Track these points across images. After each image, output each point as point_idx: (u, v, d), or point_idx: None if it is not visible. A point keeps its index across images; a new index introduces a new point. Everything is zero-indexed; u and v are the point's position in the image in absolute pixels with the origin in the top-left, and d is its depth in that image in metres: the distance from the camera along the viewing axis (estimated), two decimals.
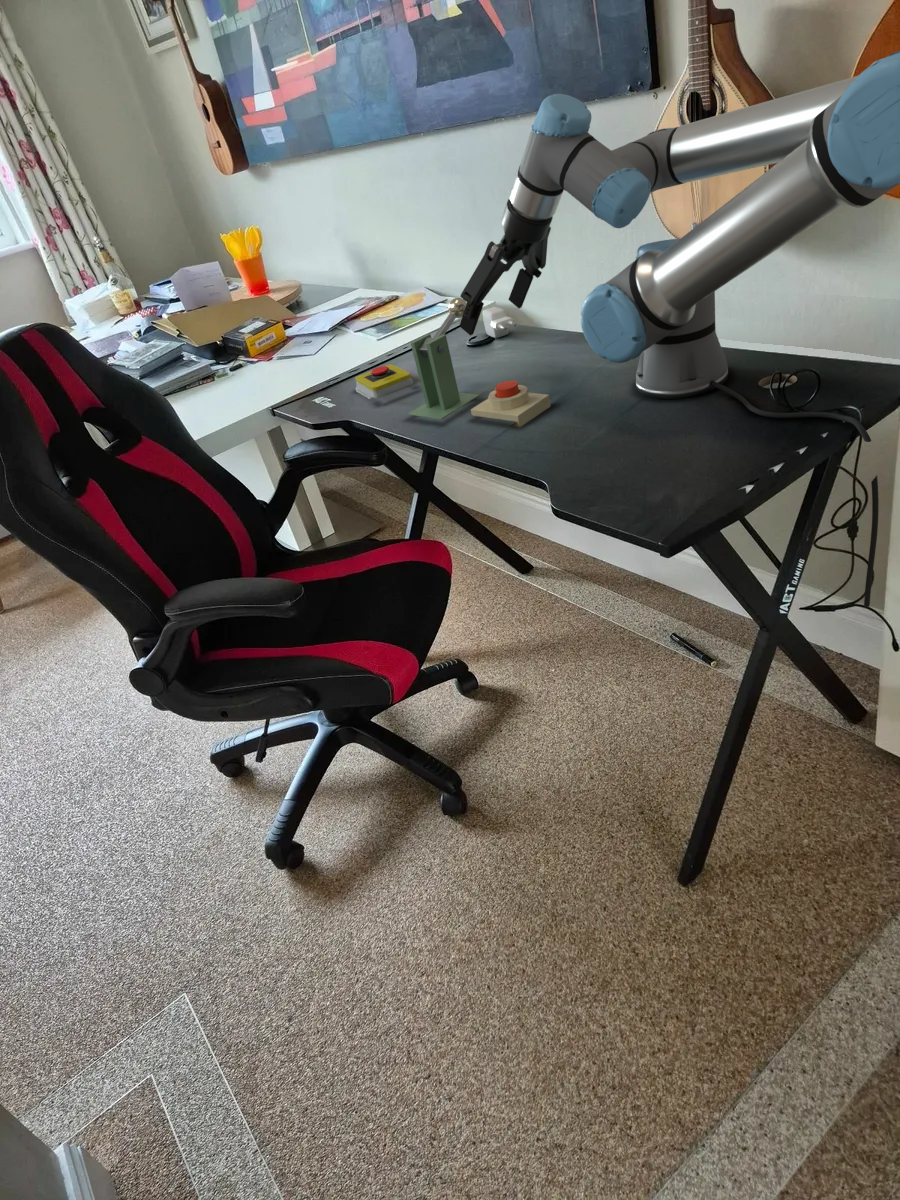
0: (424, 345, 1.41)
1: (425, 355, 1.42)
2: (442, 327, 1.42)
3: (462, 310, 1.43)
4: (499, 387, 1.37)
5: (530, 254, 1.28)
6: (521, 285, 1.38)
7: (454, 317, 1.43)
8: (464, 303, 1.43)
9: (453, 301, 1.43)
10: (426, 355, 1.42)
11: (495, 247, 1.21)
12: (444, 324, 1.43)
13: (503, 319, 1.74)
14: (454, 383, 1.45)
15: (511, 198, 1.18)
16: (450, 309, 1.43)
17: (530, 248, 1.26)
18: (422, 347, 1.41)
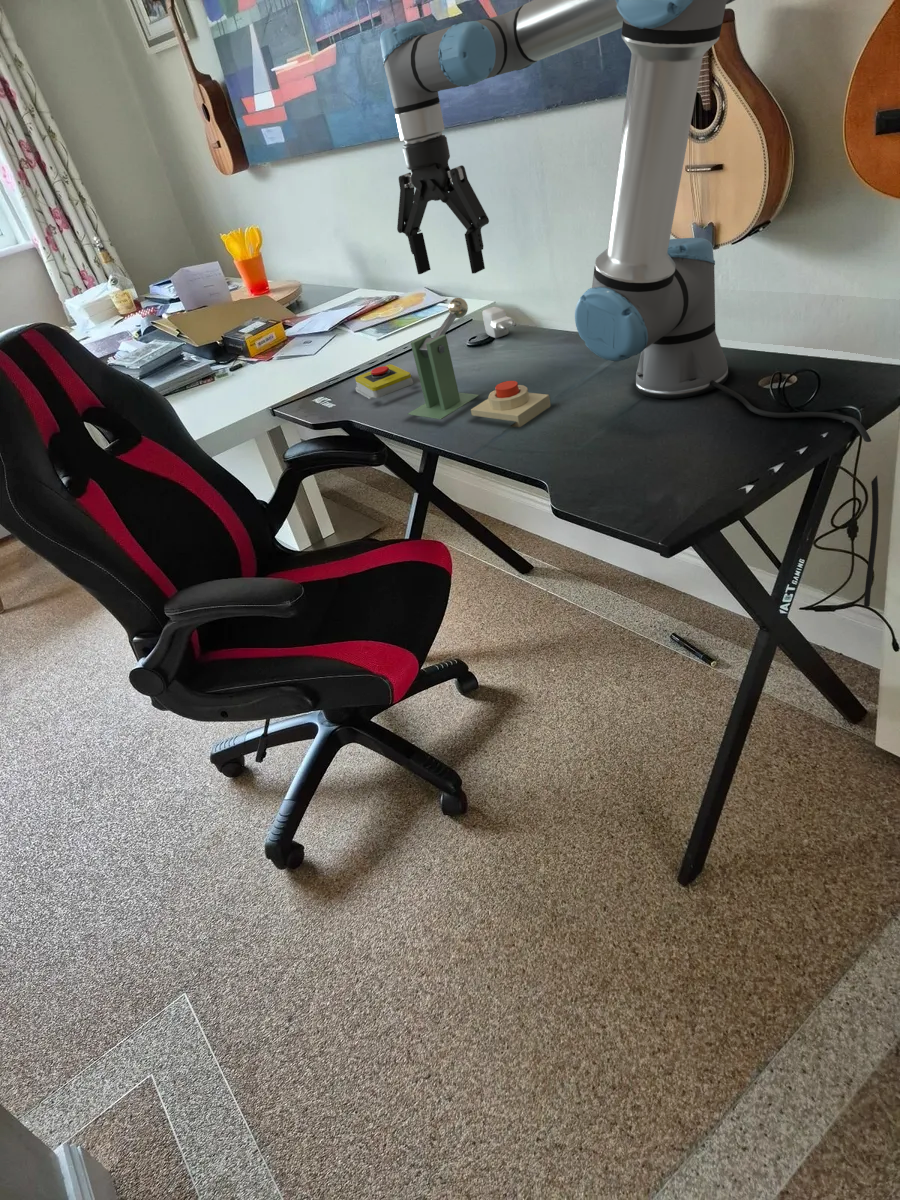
0: (424, 345, 1.41)
1: (425, 355, 1.42)
2: (442, 327, 1.42)
3: (462, 310, 1.43)
4: (499, 387, 1.37)
5: (437, 194, 1.31)
6: None
7: (454, 317, 1.43)
8: (464, 303, 1.43)
9: (453, 301, 1.43)
10: (426, 355, 1.42)
11: (403, 175, 1.35)
12: (444, 324, 1.43)
13: (503, 319, 1.74)
14: (454, 383, 1.45)
15: None
16: (450, 309, 1.43)
17: (428, 183, 1.30)
18: (422, 347, 1.41)
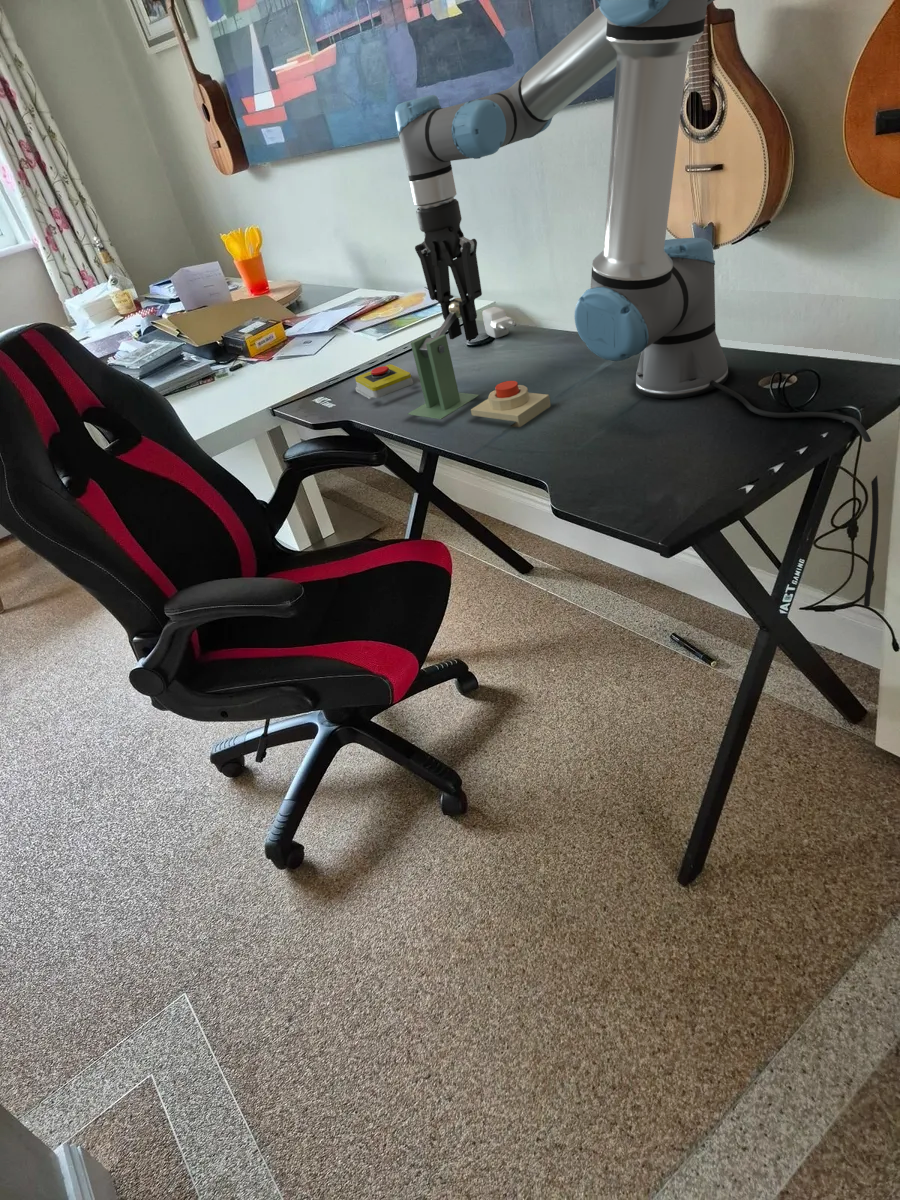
0: (424, 345, 1.41)
1: (425, 355, 1.42)
2: (442, 327, 1.42)
3: None
4: (499, 387, 1.37)
5: (445, 256, 1.37)
6: None
7: (454, 317, 1.43)
8: None
9: (453, 301, 1.43)
10: (426, 355, 1.42)
11: None
12: (444, 324, 1.43)
13: (503, 319, 1.74)
14: (454, 383, 1.45)
15: None
16: (450, 309, 1.43)
17: (441, 245, 1.36)
18: (422, 347, 1.41)
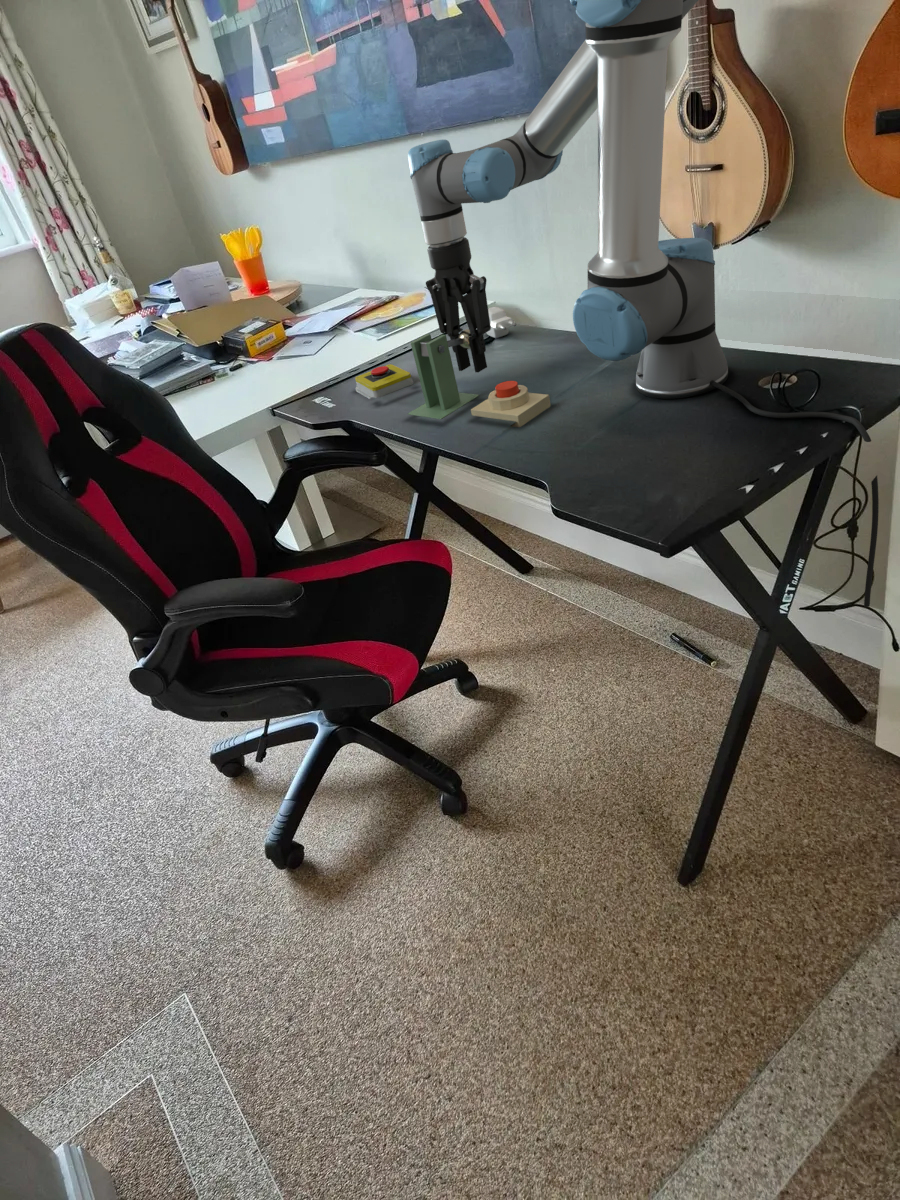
0: (426, 341, 1.41)
1: (423, 351, 1.41)
2: (448, 341, 1.44)
3: None
4: (499, 387, 1.37)
5: (455, 293, 1.41)
6: None
7: (461, 342, 1.46)
8: None
9: (466, 329, 1.47)
10: (424, 351, 1.41)
11: None
12: (450, 340, 1.45)
13: (503, 319, 1.74)
14: (454, 383, 1.45)
15: None
16: (460, 334, 1.47)
17: (451, 282, 1.40)
18: (423, 342, 1.41)
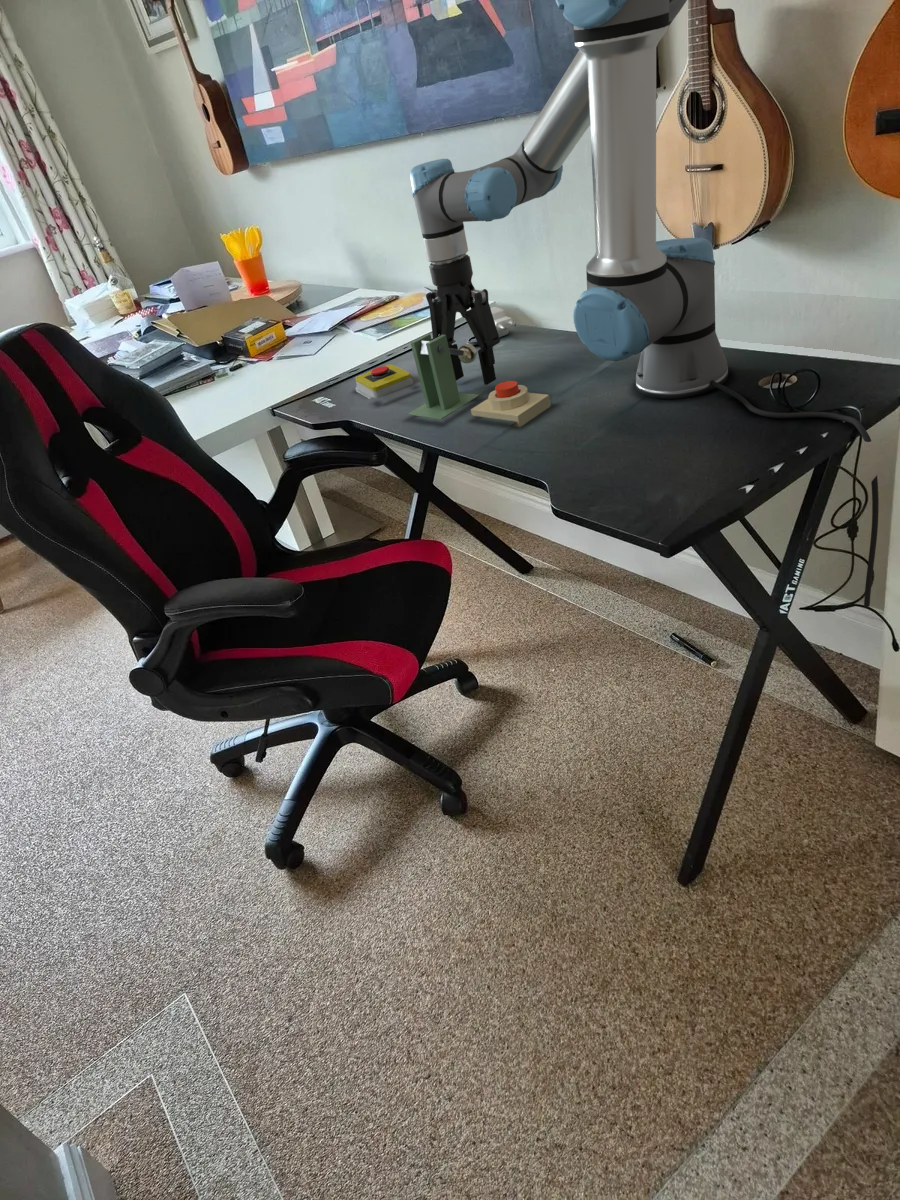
0: None
1: (422, 349, 1.41)
2: None
3: (471, 353, 1.47)
4: (499, 387, 1.37)
5: (459, 309, 1.42)
6: None
7: (461, 353, 1.47)
8: (475, 351, 1.48)
9: (467, 344, 1.48)
10: (423, 349, 1.41)
11: None
12: None
13: (503, 319, 1.74)
14: (454, 383, 1.45)
15: None
16: (461, 347, 1.48)
17: (453, 298, 1.41)
18: None
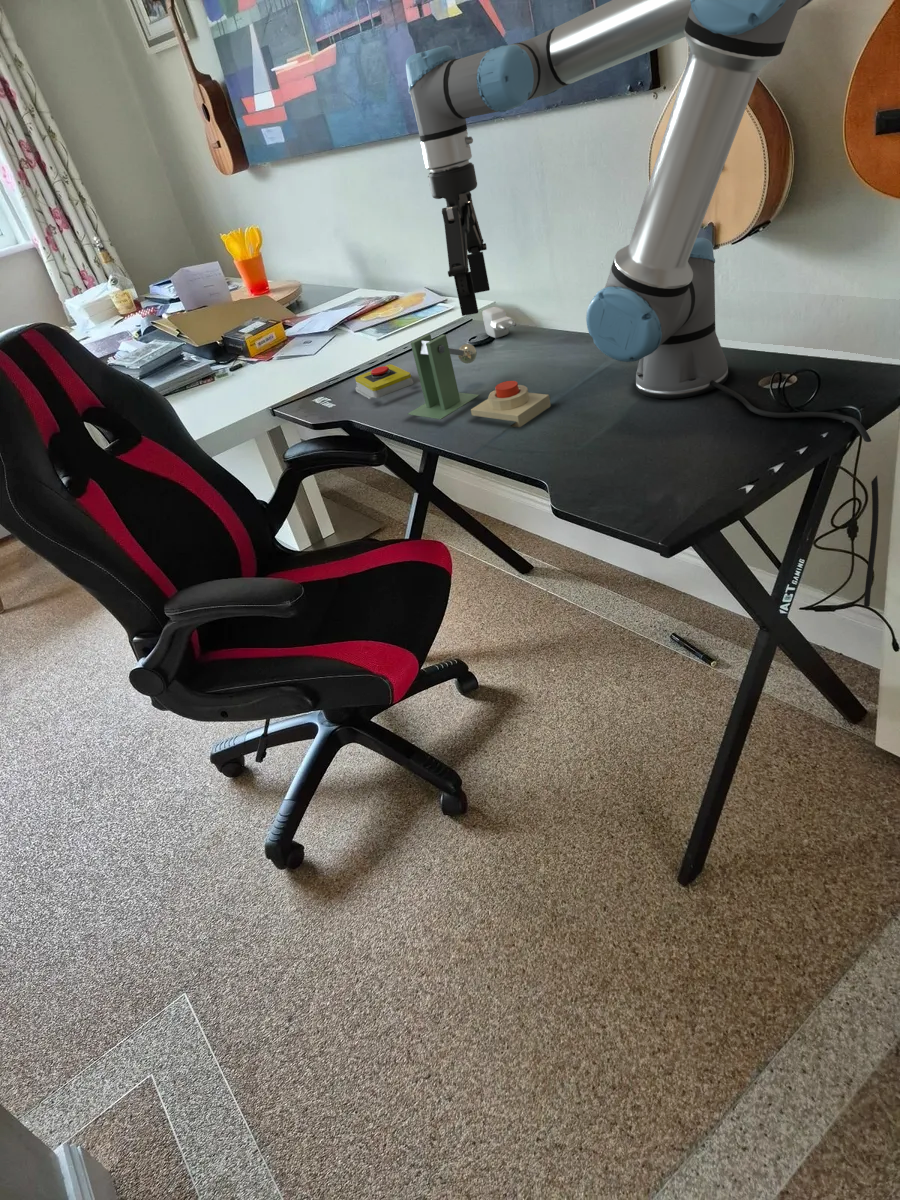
0: None
1: (422, 349, 1.41)
2: None
3: (471, 353, 1.47)
4: (499, 387, 1.37)
5: None
6: None
7: (461, 353, 1.47)
8: (475, 351, 1.48)
9: (467, 344, 1.48)
10: (423, 349, 1.41)
11: None
12: None
13: (503, 319, 1.74)
14: (454, 383, 1.45)
15: None
16: (461, 347, 1.48)
17: None
18: None
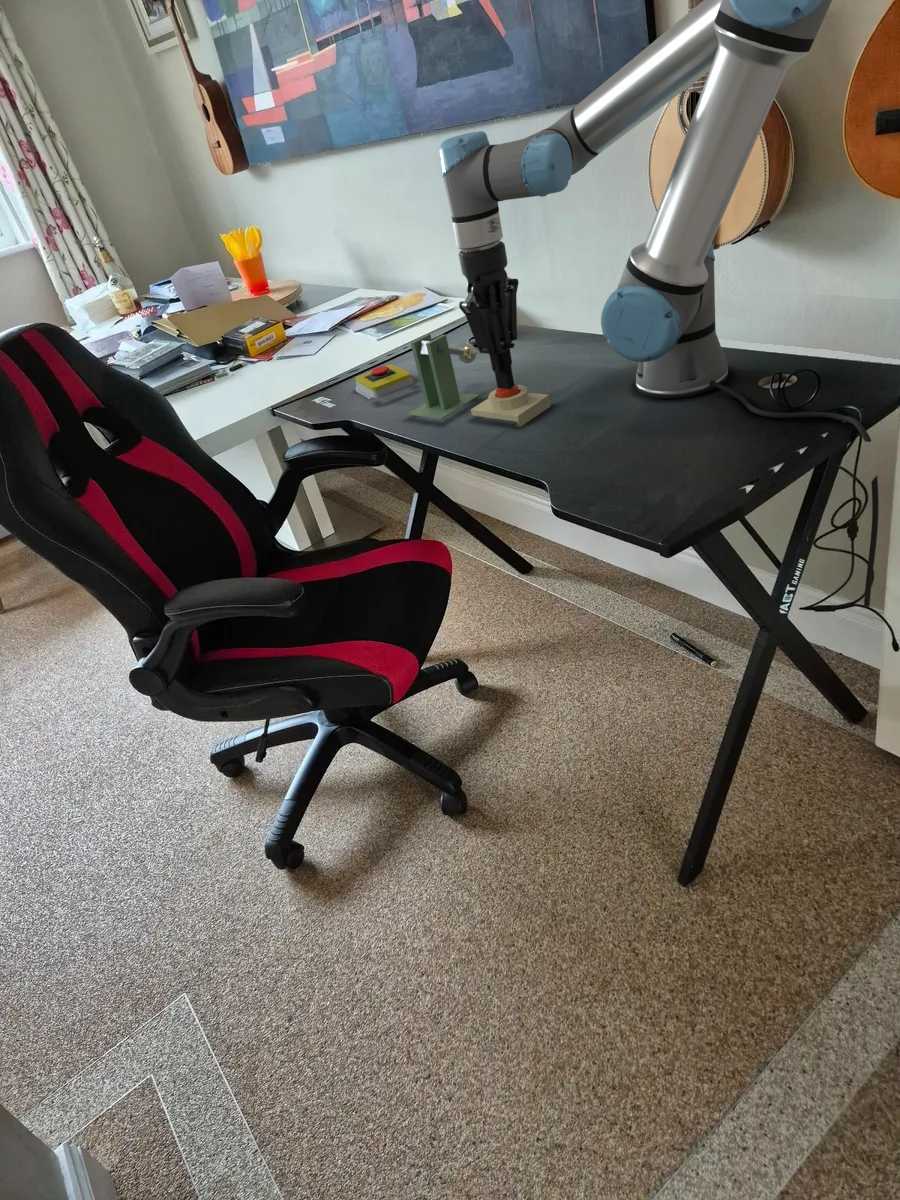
0: None
1: (422, 349, 1.41)
2: None
3: (471, 353, 1.47)
4: (500, 390, 1.37)
5: None
6: None
7: (461, 353, 1.47)
8: (475, 351, 1.48)
9: (467, 344, 1.48)
10: (423, 349, 1.41)
11: None
12: None
13: None
14: (454, 383, 1.45)
15: None
16: (461, 347, 1.48)
17: None
18: None
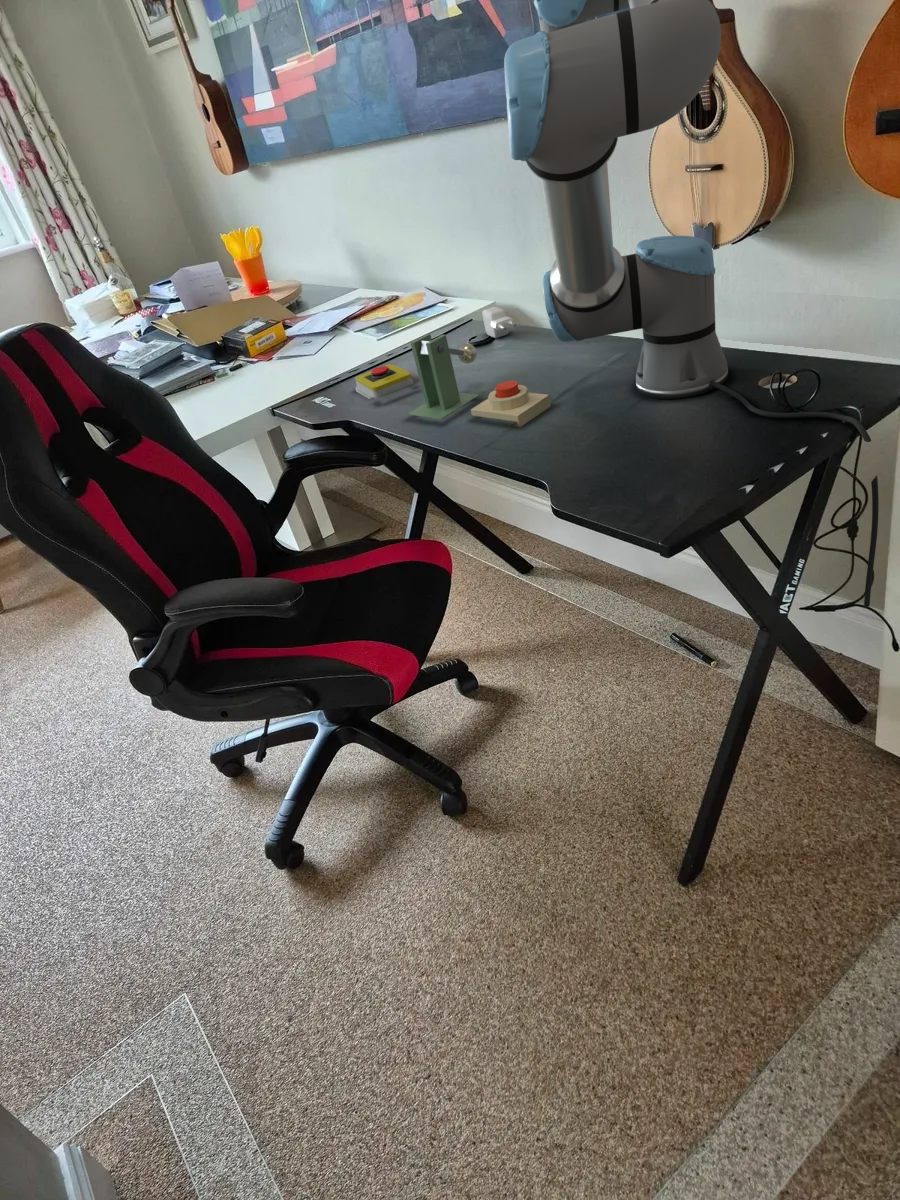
0: None
1: (422, 349, 1.41)
2: None
3: (471, 353, 1.47)
4: (499, 387, 1.37)
5: None
6: None
7: (461, 353, 1.47)
8: (475, 351, 1.48)
9: (467, 344, 1.48)
10: (423, 349, 1.41)
11: None
12: None
13: (503, 319, 1.74)
14: (454, 383, 1.45)
15: None
16: (461, 347, 1.48)
17: None
18: None
